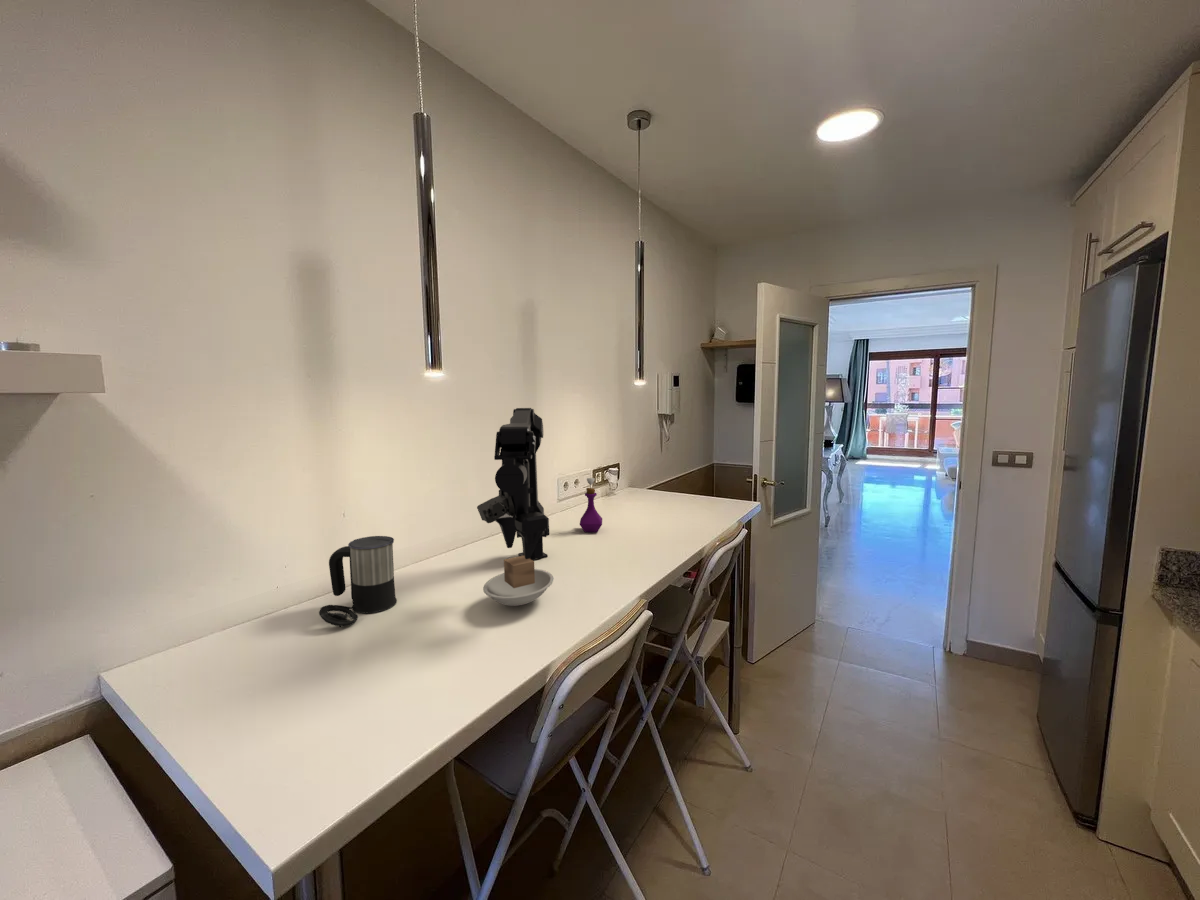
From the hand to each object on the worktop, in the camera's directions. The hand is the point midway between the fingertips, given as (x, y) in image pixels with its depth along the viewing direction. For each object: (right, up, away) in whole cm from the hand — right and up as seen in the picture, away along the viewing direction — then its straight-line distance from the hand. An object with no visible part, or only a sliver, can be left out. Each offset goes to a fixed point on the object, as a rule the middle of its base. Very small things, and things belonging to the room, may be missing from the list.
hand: (518, 553), depth 112 cm
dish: (0, -12, +2) cm, 12 cm away
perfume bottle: (+15, -5, +59) cm, 61 cm away
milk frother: (-34, -13, -3) cm, 36 cm away
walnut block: (0, -7, +1) cm, 7 cm away
